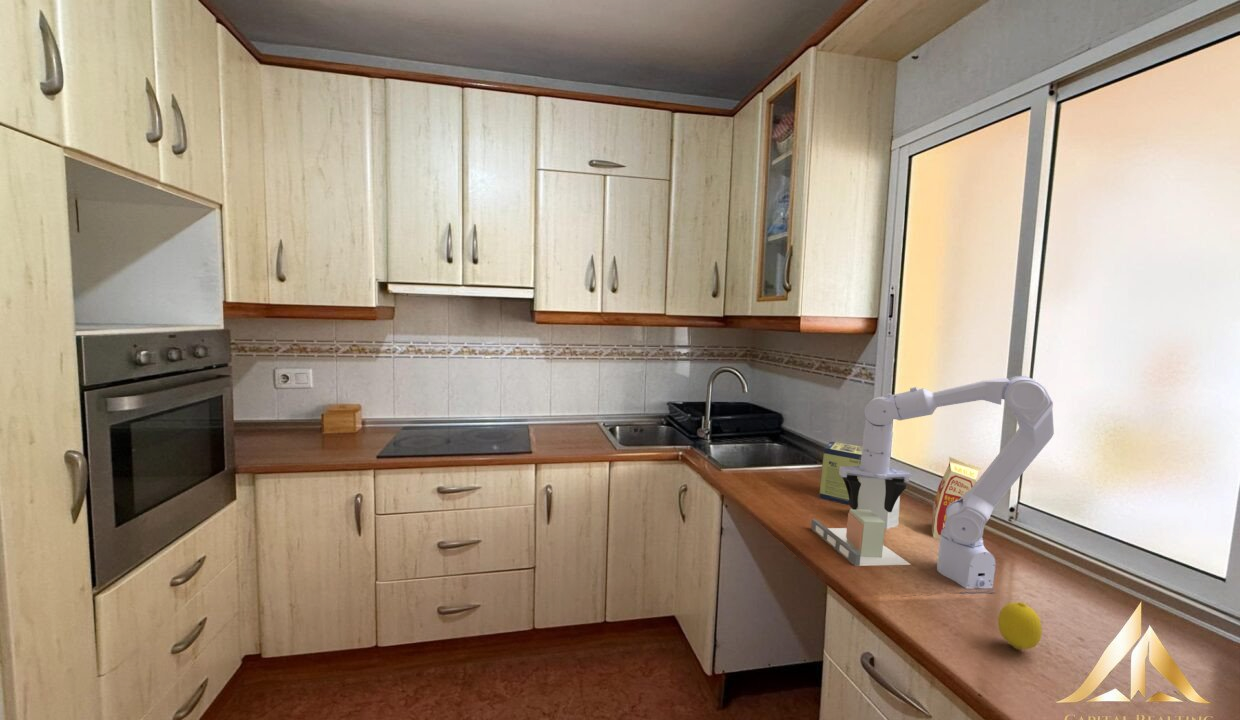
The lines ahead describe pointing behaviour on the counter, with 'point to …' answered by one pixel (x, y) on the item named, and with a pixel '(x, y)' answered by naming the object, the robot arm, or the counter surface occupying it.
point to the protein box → (837, 470)
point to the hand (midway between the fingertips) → (870, 509)
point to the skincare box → (877, 501)
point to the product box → (865, 533)
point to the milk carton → (952, 490)
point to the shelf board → (839, 542)
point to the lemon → (1020, 625)
